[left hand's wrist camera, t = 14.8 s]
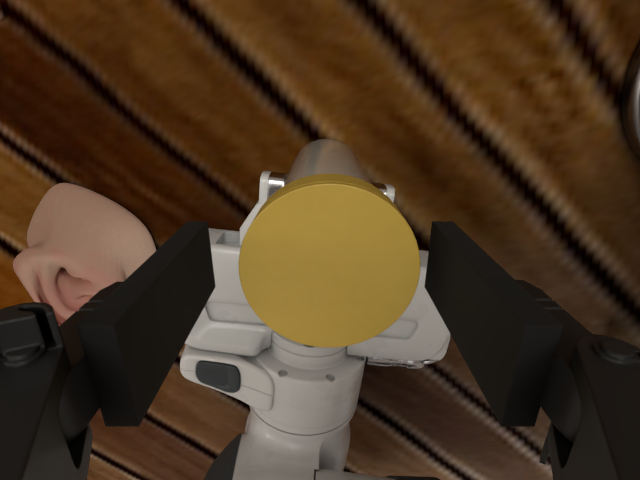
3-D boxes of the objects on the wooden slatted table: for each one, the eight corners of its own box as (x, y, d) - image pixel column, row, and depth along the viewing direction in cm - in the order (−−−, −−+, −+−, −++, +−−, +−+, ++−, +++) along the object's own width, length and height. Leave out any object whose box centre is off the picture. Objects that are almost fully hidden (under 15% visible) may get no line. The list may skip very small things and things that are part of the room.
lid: (218, 212, 14) (204, 227, 12) (376, 144, 13) (384, 151, 11) (289, 340, 16) (285, 368, 14) (429, 291, 15) (442, 314, 13)
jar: (280, 156, 28) (225, 229, 12) (345, 127, 27) (374, 167, 12) (308, 217, 30) (291, 349, 14) (370, 192, 29) (425, 303, 13)
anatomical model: (-19, 183, 25) (149, 221, 26) (25, 172, 29) (171, 206, 30) (-4, 338, 30) (138, 366, 31) (32, 312, 33) (158, 337, 34)
